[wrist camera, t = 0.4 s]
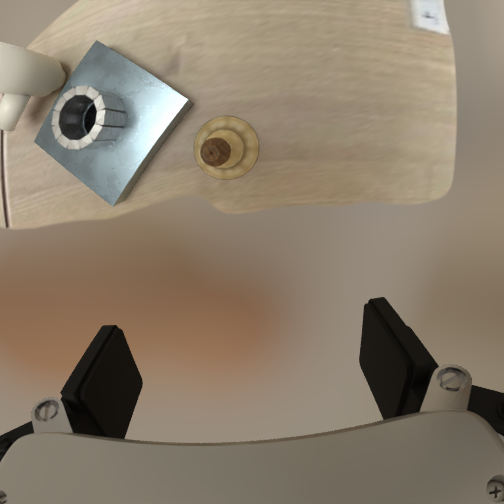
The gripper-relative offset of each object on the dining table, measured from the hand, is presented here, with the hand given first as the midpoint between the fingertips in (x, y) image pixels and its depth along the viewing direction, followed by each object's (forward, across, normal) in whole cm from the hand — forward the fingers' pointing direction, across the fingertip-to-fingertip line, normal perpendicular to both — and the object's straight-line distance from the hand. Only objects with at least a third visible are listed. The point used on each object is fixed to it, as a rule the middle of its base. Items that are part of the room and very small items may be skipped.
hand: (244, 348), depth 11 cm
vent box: (+31, +16, -13) cm, 37 cm away
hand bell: (+31, +2, -7) cm, 32 cm away
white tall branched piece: (+31, +27, -21) cm, 46 cm away
